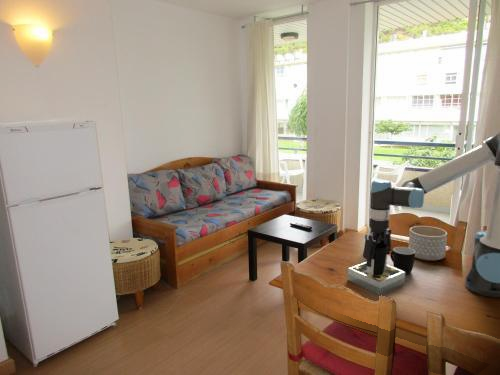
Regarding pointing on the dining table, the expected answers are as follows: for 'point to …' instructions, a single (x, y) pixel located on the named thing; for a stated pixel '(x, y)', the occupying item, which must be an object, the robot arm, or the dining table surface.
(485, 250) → the robot arm
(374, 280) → the grey square tray
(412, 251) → the mug
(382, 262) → the cup
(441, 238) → the planter
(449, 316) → the dining table surface
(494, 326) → the dining table surface
